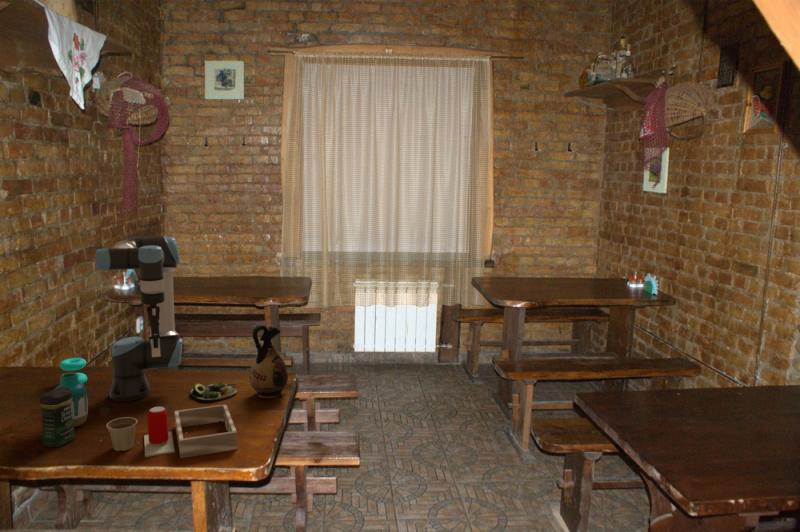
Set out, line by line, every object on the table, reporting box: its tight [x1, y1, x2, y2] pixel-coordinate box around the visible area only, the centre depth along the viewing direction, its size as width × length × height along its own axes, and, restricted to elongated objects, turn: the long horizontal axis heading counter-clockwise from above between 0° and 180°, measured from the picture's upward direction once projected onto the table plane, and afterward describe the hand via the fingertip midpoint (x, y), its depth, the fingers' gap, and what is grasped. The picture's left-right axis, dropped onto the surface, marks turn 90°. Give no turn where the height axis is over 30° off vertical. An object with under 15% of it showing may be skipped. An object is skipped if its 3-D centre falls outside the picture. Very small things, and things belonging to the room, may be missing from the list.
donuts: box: [59, 357, 88, 384], centre depth 264 cm, size 10×10×10 cm
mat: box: [143, 431, 176, 458], centre depth 209 cm, size 16×9×1 cm, turn 23°
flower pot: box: [105, 416, 138, 452], centre depth 206 cm, size 9×9×9 cm
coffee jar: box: [39, 387, 76, 448], centre depth 208 cm, size 10×8×19 cm
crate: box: [174, 403, 238, 459], centre depth 214 cm, size 26×18×6 cm
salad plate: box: [189, 382, 238, 403], centre depth 256 cm, size 19×18×5 cm
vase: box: [54, 372, 89, 428], centre depth 221 cm, size 11×11×19 cm
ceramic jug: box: [249, 324, 289, 399], centre depth 252 cm, size 17×15×30 cm
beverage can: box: [146, 406, 169, 445], centre depth 208 cm, size 6×6×12 cm
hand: (155, 350), depth 216 cm, fingers open, 13 cm apart
